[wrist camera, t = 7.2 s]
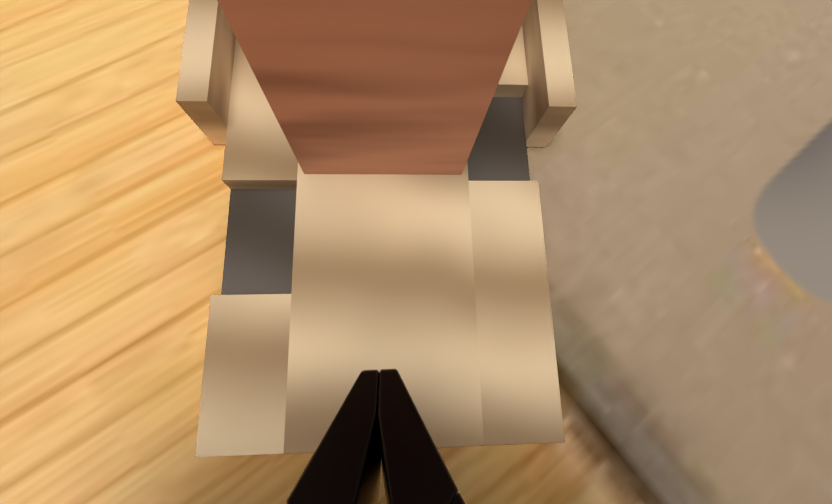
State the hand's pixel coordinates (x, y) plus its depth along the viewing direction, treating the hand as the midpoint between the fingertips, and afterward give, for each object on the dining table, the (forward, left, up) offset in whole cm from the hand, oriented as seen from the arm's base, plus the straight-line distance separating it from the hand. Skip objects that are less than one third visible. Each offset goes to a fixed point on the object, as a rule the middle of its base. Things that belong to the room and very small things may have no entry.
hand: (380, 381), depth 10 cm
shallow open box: (+6, -6, -8) cm, 12 cm away
